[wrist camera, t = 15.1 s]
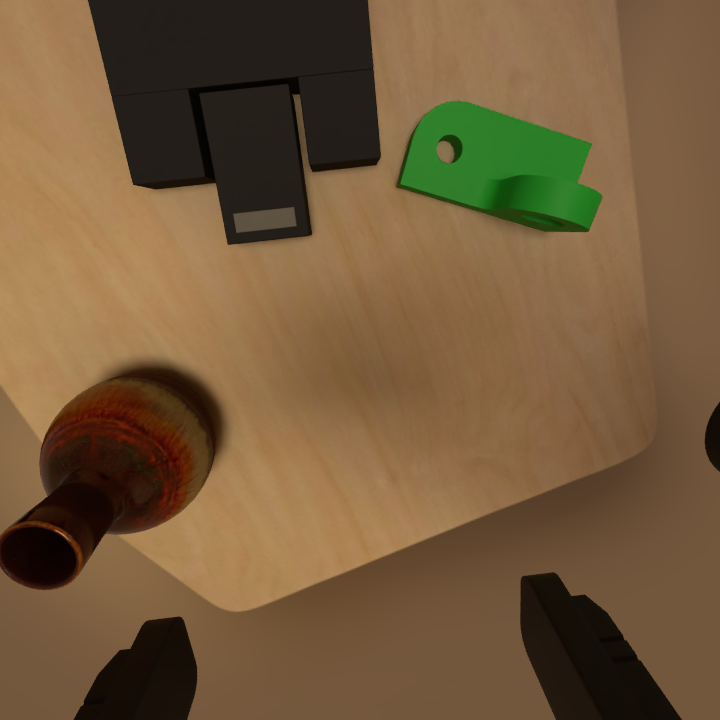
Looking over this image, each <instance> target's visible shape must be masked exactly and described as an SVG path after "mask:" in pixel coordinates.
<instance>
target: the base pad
mask: <svg viewBox="0 0 720 720" xmlns="http://www.w3.org/2000/svg"><path fill="white" fill-rule="evenodd" d="M88 2H89V6H90V10H91V14H92V18H93V23H94V27H95V31H96V35H97V39H98V43H99V47H100V51H101V55H102V59H103V63H104V68H105V72H106V76H107V80H108V84H109V88H110V92H111V96H112V101H113V105H114V109H115V113H116V117H117V121H118V125H119V129H120V133H121V137H122V141H123V146H124V150H125V154H126V158H127V162H128V166H129V170H130V174H131V178H132V182H133V185H137V186H142V187H147V188H151V189H163V188H172V187H181V186H190V185H199V184H208V183H216V180H215V175H214V169H213V164H212V159H211V154H210V148H209V143H208V138H207V133H206V127H205V122H204V117H203V112H202V107H201V101H200V96H199V94H200V93H207V92H216V91H226V90H235V89H245V88H254V87H263V86H273V85H282V84H288V85H289V87H290V90H291V93H292V94H300V97H301V105H302V113H303V120H304V128H305V136H306V143H307V151H308V158H309V165H310V167H311V169H312V171H313V172H316V171H325V170H334V169H344V168H353V167H362V166H371V165H376V164H377V162H378V161H379V159H380V157H381V152H380V141H379V129H378V117H377V105H376V94H375V82H374V70H373V58H372V46H371V35H370V23H369V11H368V0H88Z"/></svg>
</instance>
